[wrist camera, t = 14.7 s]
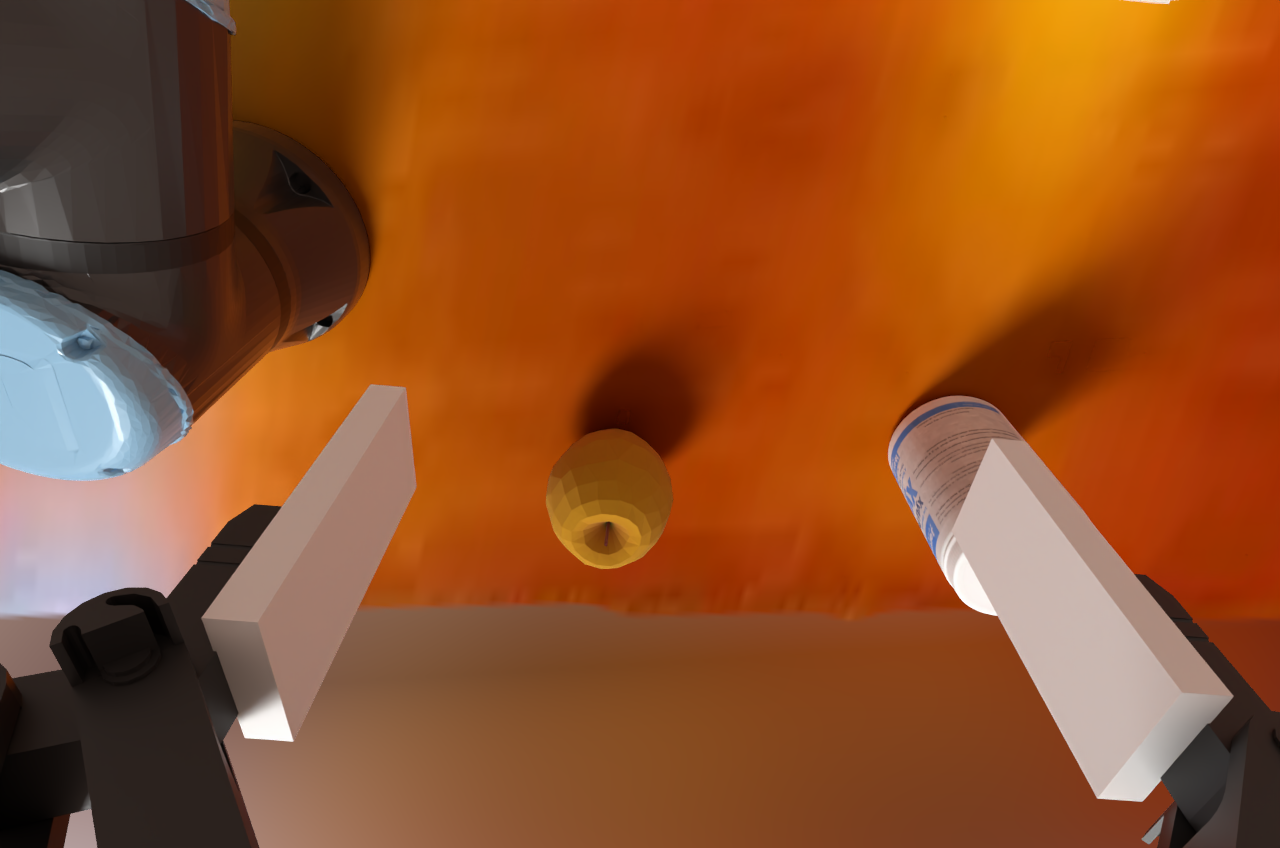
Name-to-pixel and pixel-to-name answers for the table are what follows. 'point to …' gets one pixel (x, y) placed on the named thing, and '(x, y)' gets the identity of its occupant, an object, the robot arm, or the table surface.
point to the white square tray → (1152, 1)
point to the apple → (609, 498)
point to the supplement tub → (947, 476)
